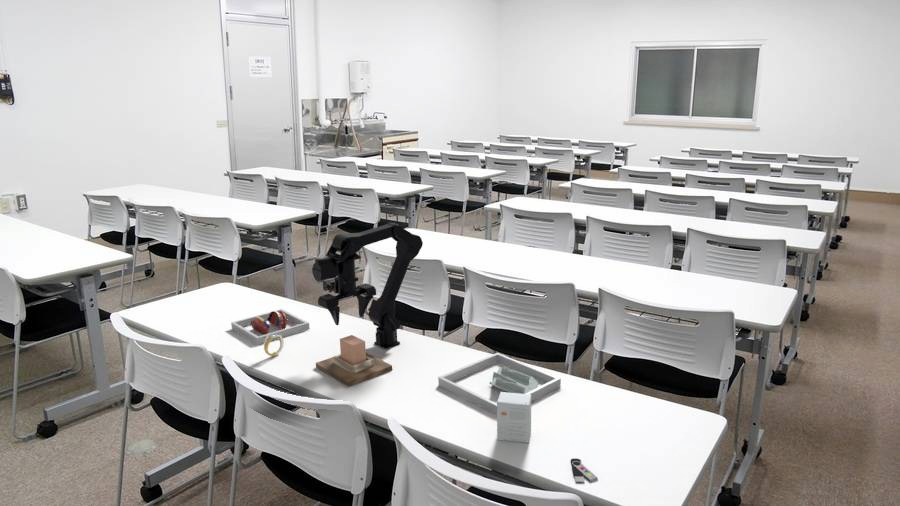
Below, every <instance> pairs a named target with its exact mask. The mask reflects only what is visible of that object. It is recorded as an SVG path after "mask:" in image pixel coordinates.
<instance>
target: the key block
mask: <svg viewBox="0 0 900 506" xmlns="http://www.w3.org/2000/svg"><path fill="white" fill-rule="evenodd" d="M339 347H340V354H341V359H342V360H344V361H346V362H348V363H349V364H351V365H356V364H359V363H362V362H364V361H366V353H367V352H366V340H363V339H361V338H359V337H358V336H356V335H354V334H351V335H348V336H345V337H342V338H341V337H340V338H339Z"/></svg>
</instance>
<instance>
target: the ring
mask: <svg viewBox="0 0 900 506" xmlns="http://www.w3.org/2000/svg"><path fill="white" fill-rule="evenodd" d="M272 332H273V331H271V332H269V333H270V334H269V333H268V334H269V335H268V336H267V337H266V339H265V342H264V343H263V351H264V353H265V354H267V355H268V356H270V357H276V356H277V355H279V354H280V353H281V352H282V350H283V348H284V346H285V345H284V337H283V338H282V336H281V335H276V333H277V332H275V331H274V332H275V333H272ZM275 337H277V338H278V339H277V340H279V344H280V345H279V348H278V349H277V351H274V352H272V353H270V352H269V351H268V348H269V345H270V343H271V342H272V340H273V338H275ZM269 338H270V339H269ZM268 339H269V340H268ZM273 341H274V340H273Z"/></svg>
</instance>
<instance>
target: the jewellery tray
mask: <svg viewBox="0 0 900 506" xmlns="http://www.w3.org/2000/svg"><path fill="white" fill-rule="evenodd" d="M275 311H277V312H284V313H285V315H286V320H287V319H288V320H287V321H289V320H290V321H289V322H291V321H292V322H291V323H293V322H294V323H293V324H295V323H296V324H298V325H296V324H295V325H294V326H290V327H286V329H280V330H276V331H271V332H272V333H275V332H277V333H276V335H281V336H282V338H283V339H284V338H285V337H289V336H292V334H293V335H296V334H299V333H302V332H306V331H309V330H310V322H308V321H307V320H304V319H303V318H301V317H298V316H297V315H295V314H292V313H291V312H288V311H287V310H285V309H282V308H279V309H277V310H275ZM270 312H271V311H269V312H265V313H262V314H258V315H254V316H251V317H246V318H242V319H239V320H235V321H232V322H230V324H231V330H233V331H235V332H236V333H238V334H239V335H241V336H242V337H244V338H246V339H247V340H249V341H251V343H254V344H255V345H257V346H259V345H264V342H265V339H266V337H267V336H268V335H269V334H270V333H271V332H268V334H265V335H263V334H261V335H259V336H258V335H257V334H255V333H253V332H252V331H250V330H248V329H246V328H245V327H249V326H251V323H250V322H251V321H253V320H254V319H255V318H256V317H261V318H262V319H264V321H265V320H266V321H267V319H268V317H269V314H271V313H270ZM264 321H263V322H264ZM308 329H309V330H308ZM305 330H306V331H305ZM295 333H296V334H295ZM269 339H270V338H269ZM269 339H268V340H269ZM275 340H279V339H278V338H277V337H275V338H273V340H272V341H275ZM272 341H271V342H272Z"/></svg>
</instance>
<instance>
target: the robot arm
mask: <svg viewBox="0 0 900 506" xmlns="http://www.w3.org/2000/svg"><path fill="white" fill-rule="evenodd" d="M391 238H392V239H393V240H394V241H395V242H396V246H395V254H396V257H395V259H394V261H393V265H392V267H391V269H390V271H389V274H388V276H387V279H386V281H385V285H384V286H383V287H384V288H383V290H382V292H381V294H380V296H379V298H377V299H376V300H375V299H374V296H377V288H376V287H375V286H373V285H371V284H368V283H362V284H359V285H357V282H359V277H357V274H356V260H360V259H361V258H362V256H361V255H359V254H358V252H360V250H362V248H365V246H369V245H371V244H374V243H378V242H381V241H384V240H387V239H391ZM423 244H424V242H423V240H422V237H421V236H420V235H418V234H413V233H411V232H410V231H408V230H407V229H405V228H404V227H402V226H401V225H400V224H398V223H394V222H388V223H387V224H384V225H381V226H377V227H374V228H370V229H367V230H364V231H361V232H360V231H359V232H351V233H350V232H344V233H338V234H336V235H335V236H333V239H332V243H331V245H330V247H329V249H328V250H327V252H326V254H325V256H326V257H322V258H321V257H319V258H315V259H314V263H313V265H312V268H311V272H312V273H311V274H312V275H313V278H314V279H315V281H316V282H321V281H322V289H323V291H324V292H326V291H327V292H328V293H327V294H322V295H319V297H318V298H317V306H320V307H322V308H325V309H327V310H328V311H329V314H330V315H331V317H332V319H333V321H334V323H335V325H336V326H339V325H340V309H341V307H340V306H338V305H339V302H341V301H345V300H348V299H351V298H354V297H356V299H357V303H358V305H357V306H358V316H359V318H360V319H362V318H363V317H364V314H365V313H366V310H367V308H368V306H369V304H370V306H369V308H368V310H367V311H368V314H367V315H368V319H369V320H370V321H371V322H372V324H373V326H376V327H375V328H376V329H375V341H374V342H373V343H374V345H376V346H378V347H380V348H382V349H384V350H387V349H389V348H392V347H396V346H398V345H401V342H400V341H398V332H397V331H398V330H399V329H400V327H401V322H400V321H399V320H398V319H397V318H396V317H395V314H396V303H395V301H396V299H397V297H398V294H399V292H400V289H401V287H402V284H403V281H404V279H405V276H406V274H407V272H408V268H409V265H410V263H411V262H412V261H413V260H414V259H415V258H416V257H417V256H418V255H419V253H420V251H421V249H422V248H423ZM339 253H340V254H339ZM333 278H334V281H331V279H333ZM331 293H334V294H337V295H333V294H331ZM370 302H371V303H370Z"/></svg>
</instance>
